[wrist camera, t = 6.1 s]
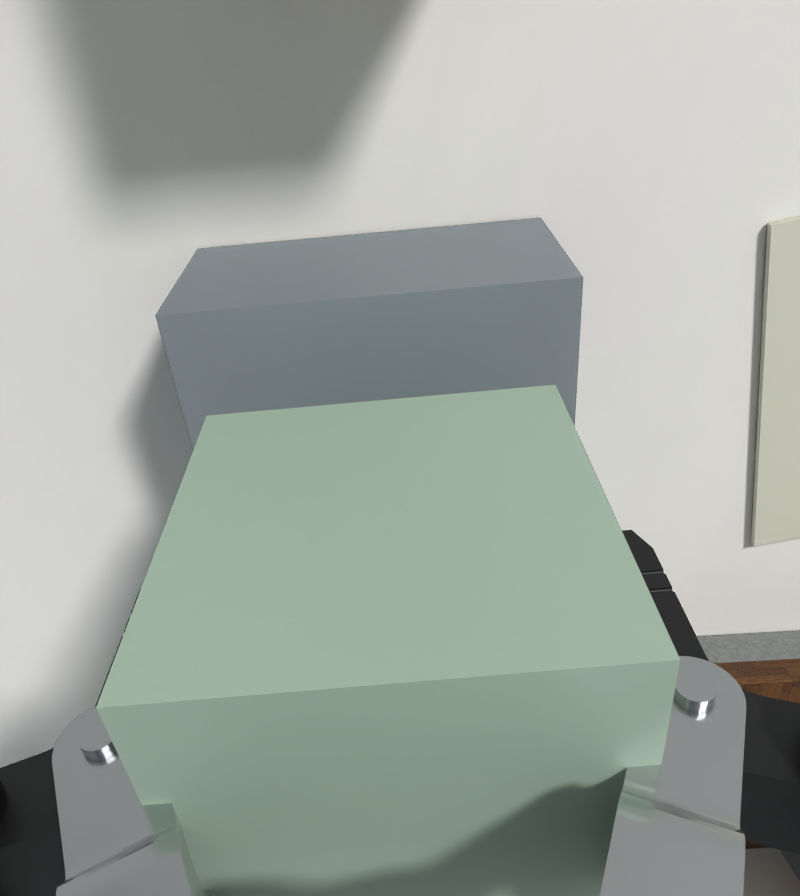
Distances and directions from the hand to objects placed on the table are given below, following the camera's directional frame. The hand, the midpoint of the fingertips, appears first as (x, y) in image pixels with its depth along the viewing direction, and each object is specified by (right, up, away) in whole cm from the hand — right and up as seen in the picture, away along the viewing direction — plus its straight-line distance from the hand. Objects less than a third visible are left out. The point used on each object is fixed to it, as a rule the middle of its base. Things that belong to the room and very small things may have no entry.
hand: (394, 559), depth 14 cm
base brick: (0, +4, +6) cm, 7 cm away
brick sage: (0, 0, +1) cm, 1 cm away
